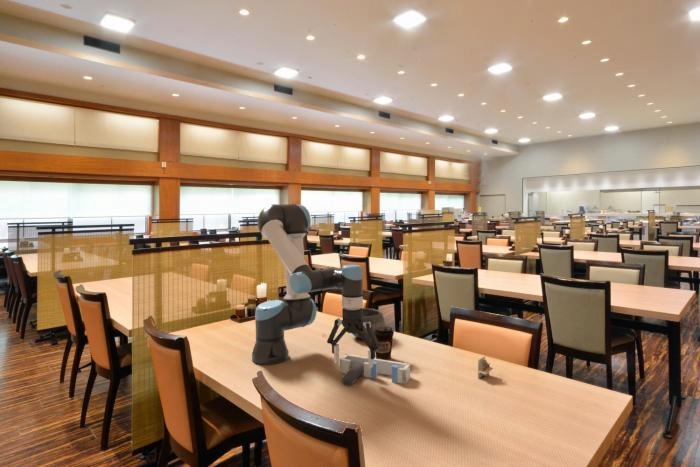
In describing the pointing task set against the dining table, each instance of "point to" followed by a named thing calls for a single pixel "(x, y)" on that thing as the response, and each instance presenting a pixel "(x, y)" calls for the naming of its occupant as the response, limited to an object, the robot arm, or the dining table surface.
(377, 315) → the bowl
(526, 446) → the dining table surface
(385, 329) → the coffee cup
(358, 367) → the dark gray cylinder
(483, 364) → the architectural model
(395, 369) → the white u-shaped bracket
